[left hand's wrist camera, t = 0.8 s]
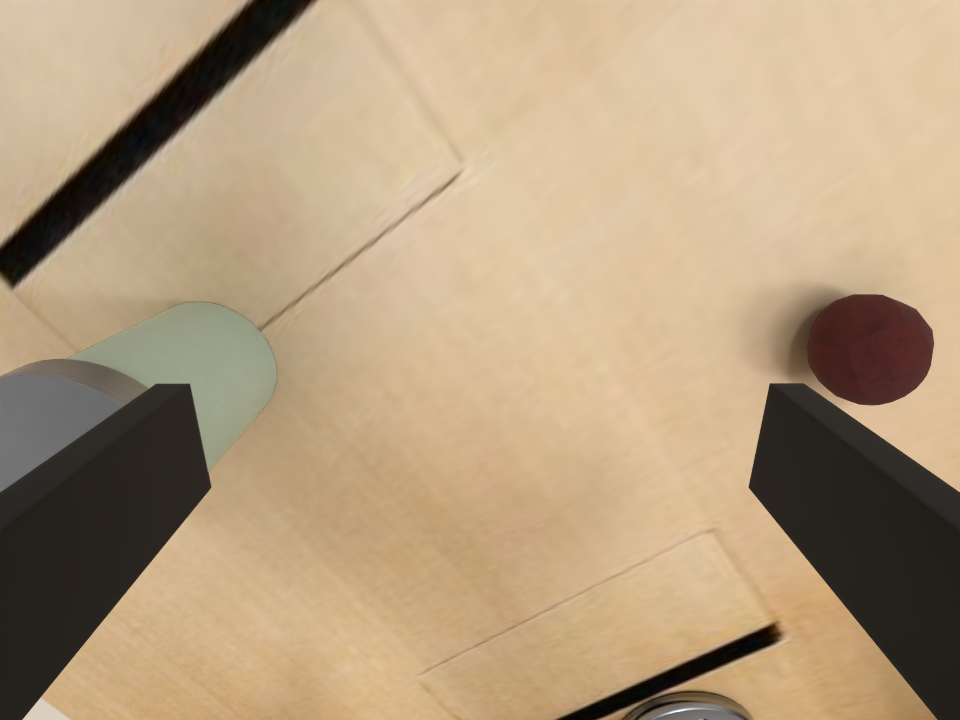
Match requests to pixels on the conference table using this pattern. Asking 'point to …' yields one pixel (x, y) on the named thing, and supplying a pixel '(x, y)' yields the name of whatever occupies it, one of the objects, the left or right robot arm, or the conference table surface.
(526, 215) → the conference table surface
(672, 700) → the right robot arm
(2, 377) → the lid
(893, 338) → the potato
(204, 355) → the jar
